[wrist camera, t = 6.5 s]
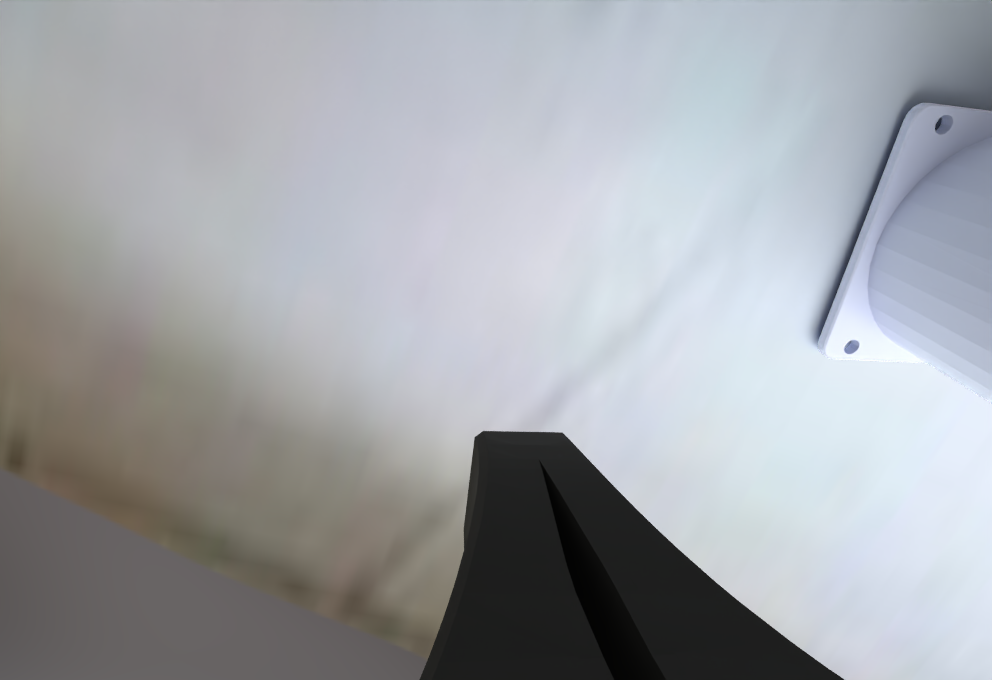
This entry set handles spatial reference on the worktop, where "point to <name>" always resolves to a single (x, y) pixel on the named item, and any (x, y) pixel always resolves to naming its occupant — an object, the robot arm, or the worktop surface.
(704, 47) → the worktop surface
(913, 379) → the worktop surface
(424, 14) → the worktop surface
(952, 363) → the robot arm
